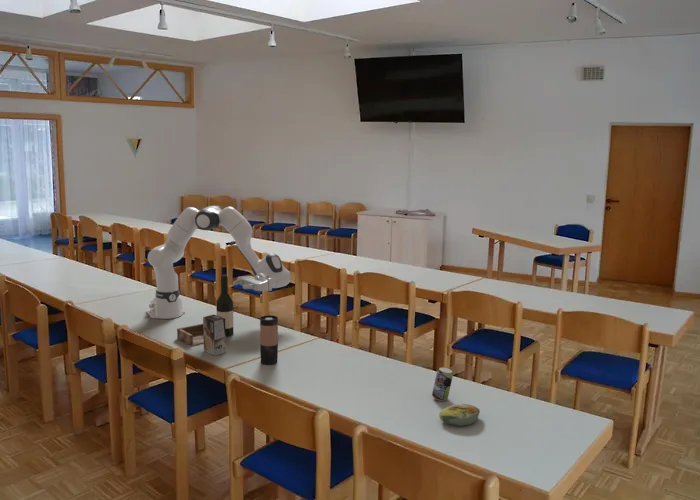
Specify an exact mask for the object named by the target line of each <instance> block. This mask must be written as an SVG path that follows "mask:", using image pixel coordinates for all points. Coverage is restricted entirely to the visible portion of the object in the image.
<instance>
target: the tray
mask: <svg viewBox="0 0 700 500" xmlns="http://www.w3.org/2000/svg"><path fill="white" fill-rule="evenodd" d="M176 332H177V334H176V337H177V340H180V341H181V342H183V344H186V345H187V346H189V345H190V346H189V347H195V345H196V346H200V344H201V345H204V334H203V323H200V324H199V323H198V324H192V325H187V326H183V327H178V328H177V329H176Z"/></svg>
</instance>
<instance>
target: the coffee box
mask: <svg viewBox="0 0 700 500" xmlns="http://www.w3.org/2000/svg"><path fill="white" fill-rule="evenodd" d="M202 324H203V334H204V344H203V351H204V352H206V353H209V354H210V355H213V356H220V355H222V354H226V353H227V346H226V345H227V343H226V342H227V340H226V339H227V337H226V330H225V318H222V317H220V316H217V314H210V315H206V316H203V317H202Z"/></svg>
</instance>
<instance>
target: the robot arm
mask: <svg viewBox="0 0 700 500" xmlns="http://www.w3.org/2000/svg"><path fill="white" fill-rule="evenodd" d="M219 226H222V227H223V228H224V229H225V230H226V231H227V232H228V233H229V234H230V235H231V237H232V238H233V240H234V242H235V245H236V247H237V249H238V251H239V252H240V255H242V256H243V259H244V260H245V261H246V263H247V264H248V265H249V266H250V268H251V270H252V273H253V275H254V276H252V275H242V276H238V277H237V278H236V280H234V281H232V285H233V286H238V285H240V286H242V289H244V290H249V289H250V290H253V291H256V292H265V291H266V292H272V290H273V289H278V288H284V287H286V286H287V285H289V283H290V282H291V279H292V277H291V276H292V275H291V273H290V271H289V270H288V269H287V268H286V267H285V266H284V265H283V263H282V260H281V258H280V256H279V255H278V254H276V253H274V252H270V253H267V254H266V255H265V256H264V257H263V258H261V259H260V258H259V256H258V254H257V253H256V251H254V249H253V248H252V245H251V244H252V243H251V239H252V237H253V227H252V225H251V224H250V222H249V221H248V220H247V219H246V217H244V215H243V214H242V213H241V212H239V211H238V210H237V209H236V208H235V207H233V206H226V207H224V208H223V207H222V206H220V205H217V204H211V205H209V206H206V207H203V208H202V209H201V210H199V209H198V208H196V207H193V206H188V207H186V208H185V209H184V210H183V211H182V212H181V213H180V214H179V215H178V217H177V218H176V220H175V221H174V223H173V224H172V225H171V227H170V229H169V231H168V232H167V233H168V234H167V239H166V241H165V242H164V243H163V244H160V245H158V246H155V247H154V248H152V249H151V250H150V251H148V253H147V261H148V263H149V264H150V266H152V268H153V270H154V273H155V278H156V279H155V280H156V289H155V297H154V298H153V299H152V300H151V301H150V303H149V304H148V305H149V306H148V307H149V308H148V309H145V310H146V311H145V312H146V314H147V315H148V316H149V317H150V318H151V319H163V320H164V319H165V320H166V319H170V320H171V319H176V318H179V317H181V316H183V314H185V313H186V311H185V310H184V308H183V301H182V299H183V298H181V297H180V288H179V275H178V274H177V272H176V271H175V270H174V269H175V267H174V263H177V262H178V261H180V260H181V259H182V258H183V257H184V254H185V248H186V246H187V243H188V242H189V241H190V239H191V238H192V236H193V235H194V233H195V232H196V231H197V229H199V230H201V231H209V230H212V229H215V228H217V227H219Z"/></svg>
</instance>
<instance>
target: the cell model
mask: <svg viewBox="0 0 700 500" xmlns="http://www.w3.org/2000/svg"><path fill="white" fill-rule="evenodd" d="M480 411H481V410H480V408H478V407H477V406H475V405H471V404H466V403H459V404H458V403H457V404H452V405H449V406H447V407H445V408H443V409H441V411H440V412H439V415H438V416H439V419H440V420H441V421H442V422H444V423H445V424H449V425H452V426H468V425H471V424H474V423H475V422H476V421H477V420H478V419H479V416H480Z"/></svg>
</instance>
